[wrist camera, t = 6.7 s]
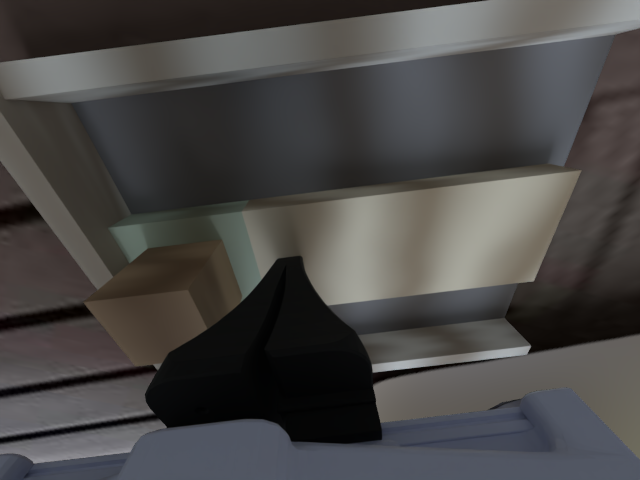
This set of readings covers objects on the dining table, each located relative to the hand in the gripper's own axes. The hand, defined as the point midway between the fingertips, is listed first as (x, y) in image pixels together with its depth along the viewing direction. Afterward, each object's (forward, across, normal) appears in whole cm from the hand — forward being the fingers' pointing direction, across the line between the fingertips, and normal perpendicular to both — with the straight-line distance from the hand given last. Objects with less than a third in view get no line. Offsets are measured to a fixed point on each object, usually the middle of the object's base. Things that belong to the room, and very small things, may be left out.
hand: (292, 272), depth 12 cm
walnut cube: (+1, +5, 0) cm, 5 cm away
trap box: (+3, -2, 0) cm, 4 cm away
